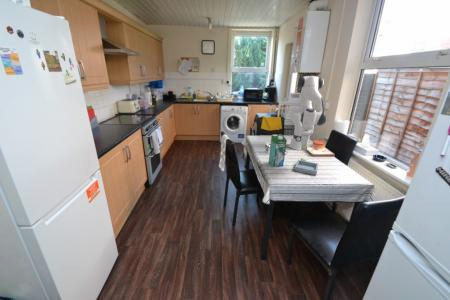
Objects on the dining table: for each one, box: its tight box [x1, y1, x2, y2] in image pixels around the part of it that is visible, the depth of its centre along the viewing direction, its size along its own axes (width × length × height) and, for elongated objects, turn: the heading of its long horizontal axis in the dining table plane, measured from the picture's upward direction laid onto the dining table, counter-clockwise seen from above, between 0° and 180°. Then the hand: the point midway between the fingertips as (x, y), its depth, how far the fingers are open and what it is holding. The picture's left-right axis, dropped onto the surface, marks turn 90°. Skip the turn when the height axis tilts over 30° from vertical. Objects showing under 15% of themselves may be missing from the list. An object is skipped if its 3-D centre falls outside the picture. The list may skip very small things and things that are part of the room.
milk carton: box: [268, 133, 288, 168], centre depth 169 cm, size 9×9×25 cm
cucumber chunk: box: [300, 142, 309, 152], centre depth 161 cm, size 4×4×5 cm
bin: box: [294, 159, 319, 176], centre depth 165 cm, size 16×16×4 cm
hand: (304, 147), depth 162 cm, fingers closed on cucumber chunk, 4 cm apart
